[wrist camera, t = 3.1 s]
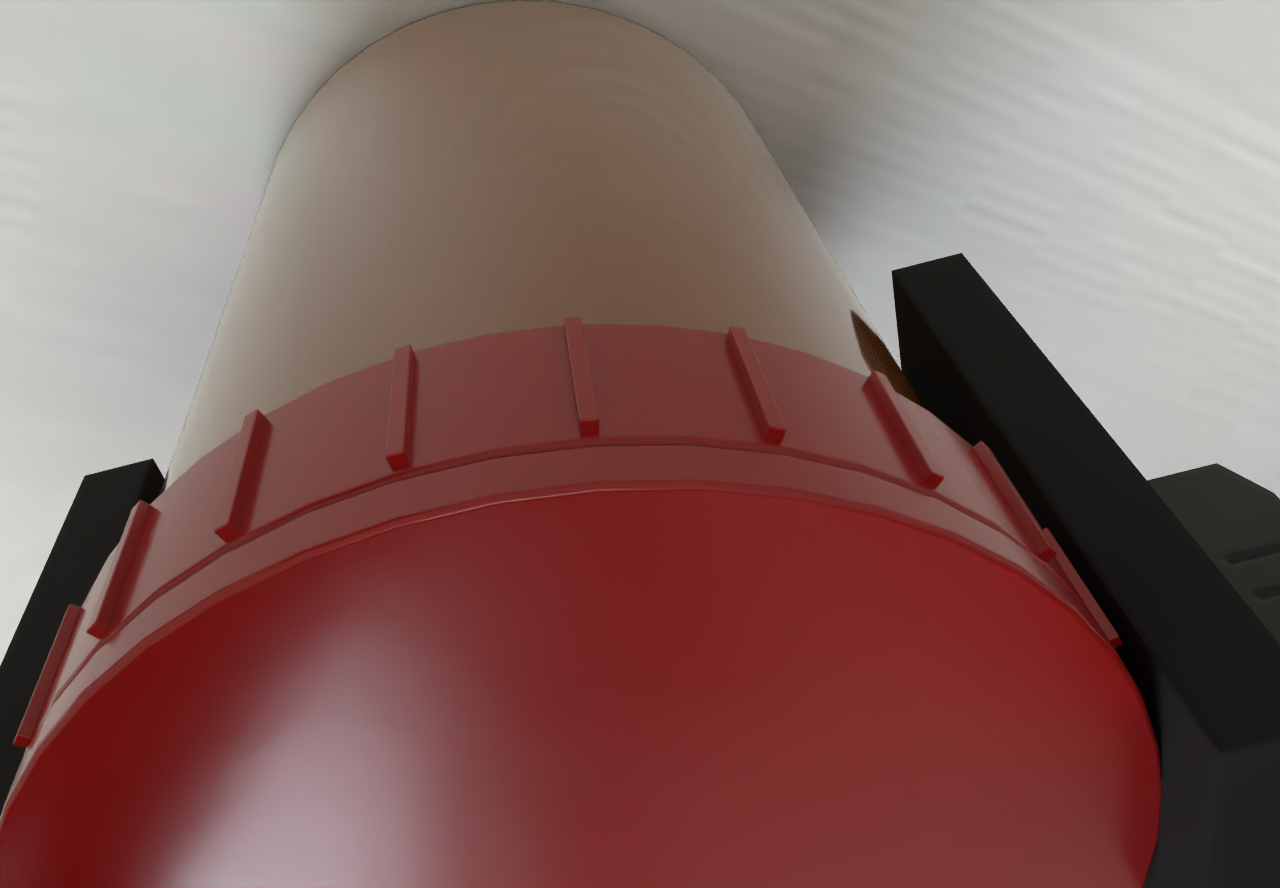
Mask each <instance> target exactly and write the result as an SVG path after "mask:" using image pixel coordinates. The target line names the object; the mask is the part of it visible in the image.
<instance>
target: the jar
mask: <svg viewBox="0 0 1280 888" xmlns="http://www.w3.org/2000/svg"><path fill="white" fill-rule="evenodd" d="M567 317H580V318H581V322H582V324H656V325H665V326H673V327H681V328H690V329H698V330H706V331H715V332H723V333H728V331H729V328H730V326H734V327H739V328H744V329H745V330H746V332H747V334H748V337H749V338H751V339H755V340H759V341H763V342H767V343H771V344H775V345H779V346H783V347H787V348H791V349H795V350H799V351H803V352H806V353H809V354H811V355H814V356H816V357H819V358H821V359H824V360H826V361H829V362H831V363H834V364H836V365H839V366H842V367H844V368H847V369H849V370H852V371H854V372H857V373H859V374H862V375H864V376H867V377H869V376H870V374H871V373H872V372H873V371H874V370H875V371H877V372H880V373H882V374H884V375H886V377H887V379H888V380H889V382H890V384H891V386H892V387H893V389H894V391H895V392H896V393H898V394H900V395H902V396H903V397H905V398H907V399H909V400H910V401H912V402H914V403H916V404H917V405H919V406H921V407H923V406H922V404H921V402H920V401H919V399H918V397H917V396H916V394H915V392H914V391H913V389H912V387H911V386H910V384H909V382H908V381H907V379H906V377H905V376H904V374H903V372H902V371H901V369H900V367H899V366H898V364H897V362H896V361H895V359H894V357H893V356H892V354H891V353H890V351H889V349H888V348H887V346H886V344H885V343H884V341H883V339H882V338H881V336H880V334H879V333H878V331H877V329H876V328H875V326H874V324H873V323H872V321H871V319H870V318H869V316H868V314H867V313H866V311H865V309H864V308H863V306H862V304H861V303H860V301H859V300H858V298H857V296H856V295H855V293H854V291H853V290H852V288H851V286H850V285H849V283H848V281H847V280H846V278H845V276H844V275H843V273H842V271H841V270H840V268H839V266H838V265H837V263H836V261H835V260H834V258H833V256H832V255H831V253H830V251H829V250H828V248H827V247H826V245H825V243H824V242H823V240H822V238H821V237H820V235H819V233H818V232H817V230H816V228H815V227H814V225H813V223H812V222H811V220H810V218H809V217H808V215H807V213H806V212H805V210H804V208H803V207H802V205H801V203H800V202H799V200H798V198H797V197H796V195H795V193H794V192H793V190H792V189H791V187H790V185H789V184H788V182H787V180H786V179H785V177H784V175H783V174H782V172H781V170H780V169H779V167H778V165H777V164H776V162H775V160H774V159H773V157H772V155H771V154H770V152H769V150H768V149H767V147H766V145H765V144H764V142H763V140H762V139H761V137H760V136H759V134H758V132H757V131H756V129H755V128H754V126H753V124H752V123H751V121H750V120H749V118H748V116H747V115H746V113H745V112H744V110H743V108H742V107H741V105H740V104H739V103H738V102H737V101H736V100H735V98H734V97H733V96H732V95H731V94H730V92H729V91H728V90H727V89H726V88H725V87H724V85H723V84H722V83H721V82H720V81H719V80H718V79H717V78H716V77H715V76H714V75H713V74H712V73H710V72H709V71H708V70H707V69H706V68H705V67H704V66H703V65H701V64H700V63H699V62H698V61H697V60H696V59H695V58H694V57H692V56H691V55H689V54H688V53H686V52H685V51H683V50H682V49H680V48H679V47H677V46H676V45H674V44H673V43H671V42H670V41H668V40H667V39H665V38H664V37H662V36H660V35H658V34H656V33H654V32H652V31H650V30H648V29H646V28H644V27H642V26H640V25H638V24H635V23H633V22H631V21H629V20H626V19H623V18H620V17H617V16H614V15H611V14H608V13H605V12H601V11H598V10H595V9H592V8H586V7H580V6H575V5H569V4H563V3H558V2H543V1H518V0H515V1H505V2H494V3H484V4H476V5H472V6H467V7H463V8H459V9H455V10H450V11H446V12H442V13H438V14H436V15H433V16H431V17H428V18H425V19H423V20H420V21H418V22H415V23H413V24H410V25H407V26H405V27H403V28H401V29H399V30H397V31H395V32H394V33H392V34H390V35H388V36H387V37H385V38H383V39H381V40H379V41H378V42H376V43H374V44H372V45H370V46H369V47H368V48H366V49H365V50H364V51H363V52H361V53H360V54H359V55H357V56H356V57H355V58H353V59H352V60H351V61H349V62H348V63H347V64H345V65H344V66H343V67H342V68H340V69H339V70H338V71H337V72H336V73H335V74H334V75H333V77H332V78H331V79H330V80H329V81H328V82H327V83H326V84H325V85H324V86H323V87H322V88H321V89H320V90H319V91H318V92H317V93H316V94H315V95H314V97H313V98H312V99H311V101H310V102H309V103H308V105H307V106H306V108H305V109H304V110H303V112H302V113H301V114H300V116H299V117H298V119H297V120H296V121H295V123H294V124H293V126H292V128H291V130H290V132H289V134H288V136H287V138H286V140H285V142H284V144H283V146H282V147H281V149H280V151H279V153H278V156H277V159H276V162H275V164H274V167H273V170H272V173H271V176H270V179H269V182H268V185H267V187H266V190H265V193H264V196H263V199H262V202H261V205H260V208H259V210H258V213H257V216H256V219H255V222H254V225H253V228H252V230H251V233H250V236H249V239H248V242H247V245H246V248H245V251H244V253H243V256H242V259H241V262H240V265H239V268H238V271H237V274H236V276H235V279H234V282H233V285H232V288H231V291H230V294H229V297H228V299H227V302H226V305H225V308H224V311H223V314H222V317H221V320H220V322H219V325H218V328H217V331H216V334H215V337H214V340H213V342H212V345H211V348H210V351H209V354H208V357H207V360H206V363H205V365H204V368H203V371H202V374H201V377H200V380H199V383H198V386H197V388H196V391H195V394H194V397H193V400H192V403H191V406H190V409H189V411H188V414H187V417H186V420H185V423H184V426H183V429H182V432H181V434H180V437H179V440H178V443H177V446H176V449H175V452H174V455H173V457H172V460H171V463H170V466H169V469H168V472H167V475H166V477H165V480H164V483H163V486H162V489H161V492H160V495H161V494H162V493H163V492H164V491H165V490H166V489H167V488H168V487H169V486H171V485H172V484H173V483H174V482H175V481H176V480H177V479H178V478H179V477H180V476H181V475H182V474H184V473H185V472H186V471H187V470H188V469H189V468H190V467H191V466H192V465H193V464H194V463H195V462H197V461H198V460H199V459H200V458H202V457H203V456H204V455H206V454H207V453H209V452H210V451H212V450H213V449H215V448H216V447H217V446H219V445H220V444H222V443H223V442H225V441H226V440H228V439H229V438H231V437H232V436H233V435H235V434H236V433H238V432H239V431H241V429H242V425H243V421H244V418H245V416H246V415H248V414H250V413H251V412H253V411H255V410H256V409H258V410H259V411H260V412H261V413H262V414H263V415H265V414H267V413H269V412H271V411H273V410H275V409H276V408H278V407H280V406H282V405H284V404H286V403H288V402H290V401H292V400H294V399H296V398H298V397H300V396H302V395H304V394H306V393H308V392H310V391H312V390H314V389H316V388H318V387H320V386H322V385H324V384H325V383H327V382H329V381H331V380H334V379H336V378H339V377H342V376H345V375H347V374H350V373H353V372H356V371H358V370H361V369H364V368H367V367H370V366H372V365H375V364H378V363H381V362H383V361H386V360H389V359H392V358H394V352H395V349H397V348H400V347H403V346H407V345H411V347H412V349H413V351H416V350H421V349H425V348H429V347H433V346H438V345H442V344H446V343H451V342H455V341H459V340H463V339H468V338H472V337H476V336H480V335H485V334H489V333H497V332H506V331H515V330H524V329H532V328H541V327H550V326H558V325H564V318H567ZM923 408H924V407H923ZM160 495H159V496H160Z"/></svg>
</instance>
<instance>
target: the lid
mask: <svg viewBox="0 0 1280 888" xmlns="http://www.w3.org/2000/svg"><path fill="white" fill-rule="evenodd" d="M1120 645H1122V641H1121V639H1120V637H1119V635H1118V633H1117V632H1116V630H1115V629H1114V627H1113V626H1112V624H1111V623H1110V621H1109V620H1108V618H1107V617H1106V615H1105V613H1104V612H1103V610H1102V609H1101V607H1100V606H1099V604H1098V603H1097V601H1096V600H1095V598H1094V597H1093V595H1092V594H1091V592H1090V591H1089V589H1088V588H1087V586H1086V585H1085V583H1084V582H1083V580H1082V579H1081V577H1080V576H1079V574H1078V573H1077V571H1076V570H1075V568H1074V567H1073V565H1072V564H1071V562H1070V561H1069V559H1068V558H1067V556H1066V555H1065V553H1064V552H1063V550H1062V548H1061V547H1060V545H1059V544H1058V542H1057V541H1056V539H1055V538H1054V536H1053V535H1052V533H1051V532H1050V530H1049V529H1048V528H1044V529H1042V528H1041V526H1040V525H1039V523H1038V522H1037V520H1036V519H1035V517H1034V516H1033V514H1032V513H1031V511H1030V510H1029V508H1028V506H1027V505H1026V503H1025V502H1024V500H1023V499H1022V497H1021V496H1020V494H1019V493H1018V491H1017V490H1016V488H1015V487H1014V485H1013V484H1012V482H1011V480H1010V479H1009V477H1008V476H1007V474H1006V473H1005V471H1004V470H1003V468H1002V467H1001V465H1000V464H999V462H998V461H997V459H996V458H995V456H994V455H993V453H992V451H991V450H990V448H989V447H988V446H987V445H986V444H985V443H983V442H982V441H980V442H979V443H978V444H976V445H975V446H974V447H973V446H972V445H970V444H969V443H968V442H967V441H965V440H964V439H963V438H962V437H960V436H959V435H958V434H957V433H955V432H954V431H953V430H952V429H950V428H949V427H948V426H947V425H945V424H944V423H943V422H942V421H940V420H939V419H938V418H937V417H935V416H934V415H933V414H932V413H930V412H929V411H928V410H926V409H924V408H923V407H921V406H919V405H917V404H916V403H914V402H912V401H910V400H909V399H907V398H905V397H903V396H902V395H900V394H898V393H896V392H895V391H894V389H893V387H892V386H891V384H890V382H889V380H888V379H887V377H886V375H884V374H882V373H880V372H877V371H875V370H874V371H873V372H872V373H871V374H870V376H869V377H867V376H864V375H862V374H859V373H857V372H854V371H852V370H849V369H847V368H844V367H842V366H839V365H836V364H834V363H831V362H829V361H826V360H824V359H821V358H819V357H816V356H814V355H811V354H809V353H806V352H803V351H799V350H795V349H791V348H787V347H783V346H779V345H775V344H771V343H767V342H763V341H759V340H755V339H751V338H749V337H748V334H747V332H746V330H745V329H744V328H739V327H734V326H730V328H729V331H728V333H723V332H715V331H706V330H698V329H690V328H681V327H673V326H665V325H656V324H582V322H581V318H580V317H567V318H564V325H558V326H550V327H541V328H532V329H524V330H515V331H506V332H497V333H489V334H485V335H480V336H476V337H472V338H468V339H463V340H459V341H455V342H451V343H446V344H442V345H438V346H433V347H429V348H425V349H421V350H416V351H413V349H412V347H411V345H407V346H403V347H400V348H397V349H395V352H394V358H392V359H389V360H386V361H383V362H381V363H378V364H375V365H372V366H370V367H367V368H364V369H361V370H358V371H356V372H353V373H350V374H347V375H345V376H342V377H339V378H336V379H334V380H331V381H329V382H327V383H325V384H324V385H322V386H320V387H318V388H316V389H314V390H312V391H310V392H308V393H306V394H304V395H302V396H300V397H298V398H296V399H294V400H292V401H290V402H288V403H286V404H284V405H282V406H280V407H278V408H276V409H275V410H273V411H271V412H269V413H267V414H265V415H263V414H262V413H261V412H260V411H259V410H258V409H256V410H255V411H253V412H251V413H250V414H248V415H246V416H245V418H244V421H243V425H242V429H241V431H239V432H238V433H236V434H235V435H233V436H232V437H231V438H229V439H228V440H226V441H225V442H223V443H222V444H220V445H219V446H217V447H216V448H215V449H213V450H212V451H210V452H209V453H207V454H206V455H204V456H203V457H202V458H200V459H199V460H198V461H197V462H195V463H194V464H193V465H192V466H191V467H190V468H189V469H188V470H187V471H186V472H185V473H184V474H182V475H181V476H180V477H179V478H178V479H177V480H176V481H175V482H174V483H173V484H172V485H171V486H169V487H168V488H167V489H166V490H165V491H164V492H163V493H162V494H161V495H160V496H159V497H158V498H157V499H155V500H154V501H153V502H152V503H151V504H150V505H149V504H148V503H146V502H144V501H142V500H140V501H139V502H138V503H137V504H136V505H135V506H134V507H133V508H132V510H131V513H130V516H129V518H128V521H127V524H126V526H125V529H124V532H123V534H122V537H121V540H120V542H119V544H118V545H117V546H116V548H115V549H114V550H113V551H112V553H111V554H110V555H109V556H108V558H107V560H106V562H105V564H104V566H103V568H102V569H101V571H100V573H99V575H98V577H97V579H96V581H95V582H94V584H93V586H92V588H91V590H90V592H89V593H88V595H87V597H86V599H85V601H84V603H83V605H82V606H81V607H78V606H75V605H71V604H70V605H69V606H68V608H67V610H66V613H65V615H64V618H63V620H62V623H61V625H60V628H59V630H58V633H57V635H56V637H55V640H54V642H53V645H52V647H51V650H50V652H49V655H48V657H47V660H46V662H45V665H44V667H43V670H42V672H41V675H40V677H39V680H38V682H37V685H36V687H35V690H34V692H33V695H32V697H31V700H30V702H29V705H28V707H27V710H26V712H25V715H24V717H23V720H22V722H21V724H20V727H19V729H18V732H17V734H16V737H15V739H14V742H13V744H14V745H16V746H20V747H25V748H26V750H25V753H24V757H23V759H22V761H21V763H20V765H19V768H18V770H17V773H16V776H15V778H14V781H13V783H12V786H11V788H10V791H9V794H8V796H7V799H6V801H5V804H4V807H3V810H2V814H1V817H0V888H1143V887H1144V885H1145V883H1146V879H1147V876H1148V873H1149V869H1150V866H1151V863H1152V859H1153V856H1154V853H1155V849H1156V846H1157V843H1158V836H1159V823H1160V810H1161V797H1162V774H1161V764H1160V755H1159V746H1158V740H1157V737H1156V734H1155V731H1154V728H1153V725H1152V722H1151V719H1150V716H1149V713H1148V710H1147V707H1146V704H1145V701H1144V698H1143V695H1142V693H1141V692H1140V690H1139V688H1138V687H1137V685H1136V683H1135V682H1134V680H1133V678H1132V677H1131V675H1130V673H1129V672H1128V670H1127V668H1126V667H1125V665H1124V663H1123V662H1122V660H1121V658H1120V657H1119V655H1118V653H1117V652H1116V650H1115V648H1116V647H1118V646H1120Z"/></svg>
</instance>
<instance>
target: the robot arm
mask: <svg viewBox="0 0 1280 888" xmlns="http://www.w3.org/2000/svg"><path fill="white" fill-rule="evenodd" d="M892 279H893V289H894V299H895V309H896V319H897V329H898V339H899V349H900V359H901V369H902V372H903V374H904V376H905V377H906V379H907V381H908V382H909V384H910V386H911V387H912V389H913V391H914V392H915V394H916V396H917V397H918V399H919V401H920V402H921V404H922V406H923V407H924V409H926V410H928V411H929V412H930V413H932V414H933V415H934V416H935V417H937V418H938V419H939V420H940V421H942V422H943V423H944V424H945V425H947V426H948V427H949V428H950V429H952V430H953V431H954V432H955V433H957V434H958V435H959V436H960V437H962V438H963V439H964V440H965V441H967V442H968V443H969V444H970V445H972V446H973V447H974V446H975V445H976V444H978V443H979V442H980V441H982V442H983V443H985V444H986V445H987V446H988V447H989V448H990V450H991V451H992V453H993V455H994V456H995V458H996V459H997V461H998V462H999V464H1000V465H1001V467H1002V468H1003V470H1004V471H1005V473H1006V474H1007V476H1008V477H1009V479H1010V480H1011V482H1012V484H1013V485H1014V487H1015V488H1016V490H1017V491H1018V493H1019V494H1020V496H1021V497H1022V499H1023V500H1024V502H1025V503H1026V505H1027V506H1028V508H1029V510H1030V511H1031V513H1032V514H1033V516H1034V517H1035V519H1036V520H1037V522H1038V523H1039V525H1040V526H1041V528H1042V529H1044V528H1048V529H1049V530H1050V532H1051V533H1052V535H1053V536H1054V538H1055V539H1056V541H1057V542H1058V544H1059V545H1060V547H1061V548H1062V550H1063V552H1064V553H1065V555H1066V556H1067V558H1068V559H1069V561H1070V562H1071V564H1072V565H1073V567H1074V568H1075V570H1076V571H1077V573H1078V574H1079V576H1080V577H1081V579H1082V580H1083V582H1084V583H1085V585H1086V586H1087V588H1088V589H1089V591H1090V592H1091V594H1092V595H1093V597H1094V598H1095V600H1096V601H1097V603H1098V604H1099V606H1100V607H1101V609H1102V610H1103V612H1104V613H1105V615H1106V617H1107V618H1108V620H1109V621H1110V623H1111V624H1112V626H1113V627H1114V629H1115V630H1116V632H1117V633H1118V635H1119V637H1120V639H1121V641H1122V645H1120V646H1118V647H1116V648H1115V650H1116V652H1117V653H1118V655H1119V657H1120V658H1121V660H1122V662H1123V663H1124V665H1125V667H1126V668H1127V670H1128V672H1129V673H1130V675H1131V677H1132V678H1133V680H1134V682H1135V683H1136V685H1137V687H1138V688H1139V690H1140V692H1141V693H1142V695H1143V698H1144V701H1145V704H1146V707H1147V710H1148V713H1149V716H1150V719H1151V722H1152V725H1153V728H1154V731H1155V734H1156V737H1157V740H1158V746H1159V755H1160V764H1161V774H1162V797H1161V810H1160V823H1159V836H1158V843H1157V846H1156V849H1155V853H1154V856H1153V859H1152V863H1151V866H1150V869H1149V873H1148V876H1147V879H1146V883H1145V885H1144V887H1143V888H1280V499H1279V498H1278V497H1277V496H1276V495H1275V494H1274V493H1273V492H1271V491H1269V490H1267V489H1265V488H1263V487H1261V486H1259V485H1258V484H1256V483H1254V482H1252V481H1250V480H1248V479H1246V478H1244V477H1242V476H1240V475H1238V474H1236V473H1234V472H1232V471H1231V470H1229V469H1227V468H1225V467H1223V466H1221V465H1219V464H1217V463H1216V464H1212V465H1208V466H1204V467H1200V468H1196V469H1192V470H1188V471H1184V472H1180V473H1176V474H1172V475H1168V476H1164V477H1160V478H1156V479H1152V480H1148V481H1147V480H1146V479H1145V478H1144V477H1143V475H1142V474H1141V473H1140V472H1139V471H1138V469H1137V468H1136V467H1135V466H1134V464H1133V463H1132V462H1131V461H1130V460H1129V458H1128V457H1127V456H1126V455H1125V453H1124V452H1123V451H1122V450H1121V448H1120V447H1119V446H1118V445H1117V444H1116V442H1115V441H1114V440H1113V439H1112V437H1111V436H1110V435H1109V434H1108V432H1107V431H1106V430H1105V429H1104V428H1103V426H1102V425H1101V424H1100V423H1099V421H1098V420H1097V419H1096V418H1095V416H1094V415H1093V414H1092V413H1091V412H1090V410H1089V409H1088V408H1087V407H1086V405H1085V404H1084V403H1083V402H1082V401H1081V399H1080V398H1079V397H1078V396H1077V394H1076V393H1075V392H1074V391H1073V389H1072V388H1071V387H1070V386H1069V385H1068V383H1067V382H1066V381H1065V380H1064V378H1063V377H1062V376H1061V375H1060V373H1059V372H1058V371H1057V370H1056V369H1055V367H1054V366H1053V365H1052V364H1051V362H1050V361H1049V360H1048V359H1047V357H1046V356H1045V355H1044V354H1043V353H1042V351H1041V350H1040V349H1039V348H1038V346H1037V345H1036V344H1035V343H1034V342H1033V340H1032V339H1031V338H1030V337H1029V335H1028V334H1027V333H1026V332H1025V330H1024V329H1023V328H1022V327H1021V326H1020V324H1019V323H1018V322H1017V321H1016V319H1015V318H1014V317H1013V316H1012V314H1011V313H1010V312H1009V311H1008V310H1007V308H1006V307H1005V306H1004V305H1003V303H1002V302H1001V301H1000V300H999V298H998V297H997V296H996V295H995V294H994V292H993V291H992V290H991V289H990V287H989V286H988V285H987V284H986V283H985V281H984V280H983V279H982V278H981V276H980V275H979V274H978V273H977V271H976V270H975V269H974V268H973V267H972V265H971V264H970V263H969V262H968V260H967V259H966V258H965V257H964V255H963V254H962V253H960V254H956V255H952V256H948V257H944V258H940V259H936V260H932V261H928V262H924V263H920V264H917V265H913V266H909V267H905V268H901V269H897V270H893V271H892ZM164 480H165V479H164V477H163V475H162V474H161V472H160V470H159V468H158V467H157V465H156V463H155V461H154V460H153V459H149V460H145V461H141V462H137V463H133V464H130V465H126V466H122V467H118V468H114V469H110V470H106V471H102V472H98V473H94V474H90V475H86V476H85V477H84V479H83V481H82V483H81V486H80V488H79V490H78V492H77V495H76V497H75V499H74V501H73V504H72V506H71V508H70V510H69V513H68V515H67V517H66V519H65V522H64V524H63V526H62V528H61V531H60V533H59V535H58V537H57V540H56V542H55V544H54V546H53V549H52V551H51V553H50V555H49V558H48V560H47V562H46V564H45V567H44V569H43V571H42V573H41V576H40V578H39V580H38V582H37V585H36V587H35V589H34V591H33V594H32V596H31V598H30V600H29V603H28V605H27V607H26V609H25V612H24V614H23V616H22V618H21V621H20V623H19V625H18V627H17V630H16V632H15V634H14V636H13V639H12V641H11V643H10V645H9V648H8V650H7V652H6V654H5V657H4V659H3V661H2V663H1V666H0V817H1V814H2V810H3V807H4V804H5V801H6V799H7V796H8V794H9V791H10V788H11V786H12V783H13V781H14V778H15V776H16V773H17V770H18V768H19V765H20V763H21V761H22V759H23V757H24V753H25V750H26V748H25V747H20V746H16V745H14V744H13V742H14V739H15V737H16V734H17V732H18V729H19V727H20V724H21V722H22V720H23V717H24V715H25V712H26V710H27V707H28V705H29V702H30V700H31V697H32V695H33V692H34V690H35V687H36V685H37V682H38V680H39V677H40V675H41V672H42V670H43V667H44V665H45V662H46V660H47V657H48V655H49V652H50V650H51V647H52V645H53V642H54V640H55V637H56V635H57V633H58V630H59V628H60V625H61V623H62V620H63V618H64V615H65V613H66V610H67V608H68V606H69V605H70V604H71V605H75V606H78V607H81V606H82V605H83V603H84V601H85V599H86V597H87V595H88V593H89V592H90V590H91V588H92V586H93V584H94V582H95V581H96V579H97V577H98V575H99V573H100V571H101V569H102V568H103V566H104V564H105V562H106V560H107V558H108V556H109V555H110V554H111V553H112V551H113V550H114V549H115V548H116V546H117V545H118V544H119V542H120V540H121V537H122V534H123V532H124V529H125V526H126V524H127V521H128V518H129V516H130V513H131V510H132V508H133V507H134V506H135V505H136V504H137V503H138V502H139V501H140V500H142V501H144V502H146V503H148V504H149V505H150V504H151V503H152V502H153V501H154V500H155V499H157V498H158V497H159V495H160V492H161V489H162V486H163V483H164Z"/></svg>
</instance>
